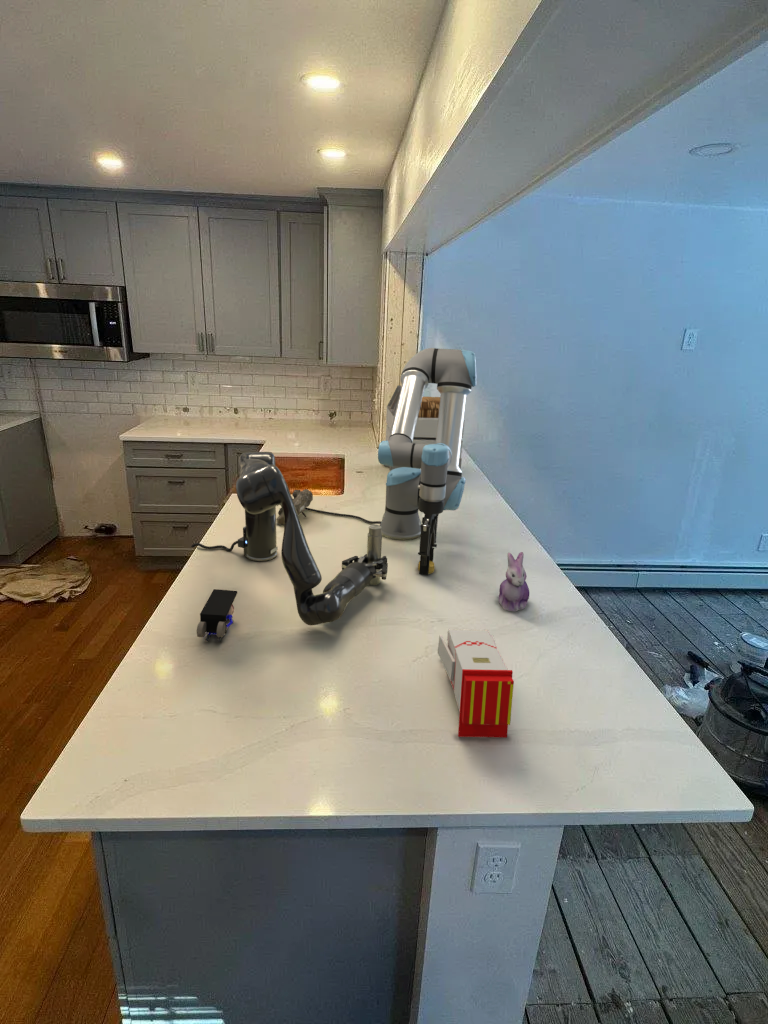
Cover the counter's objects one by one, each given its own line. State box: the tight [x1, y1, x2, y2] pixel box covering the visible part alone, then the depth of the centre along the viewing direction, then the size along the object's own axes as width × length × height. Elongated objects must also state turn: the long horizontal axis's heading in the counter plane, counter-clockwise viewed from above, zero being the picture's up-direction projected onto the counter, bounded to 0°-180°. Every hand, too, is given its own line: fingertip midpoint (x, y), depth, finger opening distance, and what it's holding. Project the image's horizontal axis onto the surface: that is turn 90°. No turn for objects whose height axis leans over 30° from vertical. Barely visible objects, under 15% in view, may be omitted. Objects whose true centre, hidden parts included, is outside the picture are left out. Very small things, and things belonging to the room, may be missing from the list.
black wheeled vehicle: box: [196, 588, 238, 643], centre depth 135 cm, size 7×8×15 cm
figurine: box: [497, 551, 530, 612], centre depth 152 cm, size 9×10×15 cm
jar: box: [366, 524, 383, 586], centre depth 161 cm, size 4×4×17 cm
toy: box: [437, 628, 515, 738], centre depth 117 cm, size 12×13×30 cm
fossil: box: [276, 488, 314, 526], centre depth 210 cm, size 22×10×15 cm
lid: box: [417, 560, 435, 575], centre depth 172 cm, size 5×5×2 cm
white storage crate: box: [383, 384, 465, 472], centre depth 268 cm, size 34×33×41 cm
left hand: (377, 557), depth 164 cm, fingers closed on jar, 4 cm apart
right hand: (425, 570), depth 173 cm, fingers open, 5 cm apart
